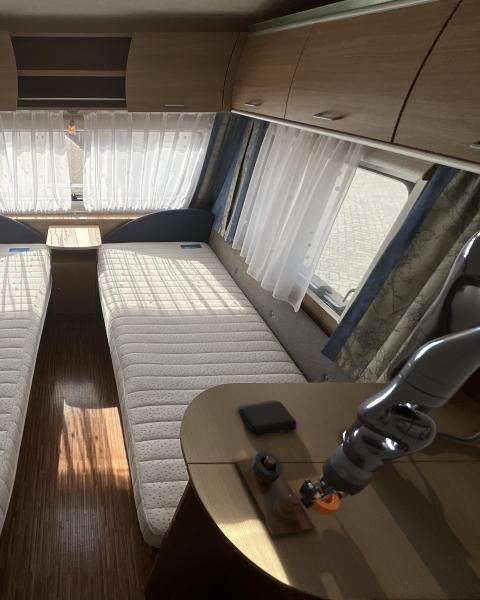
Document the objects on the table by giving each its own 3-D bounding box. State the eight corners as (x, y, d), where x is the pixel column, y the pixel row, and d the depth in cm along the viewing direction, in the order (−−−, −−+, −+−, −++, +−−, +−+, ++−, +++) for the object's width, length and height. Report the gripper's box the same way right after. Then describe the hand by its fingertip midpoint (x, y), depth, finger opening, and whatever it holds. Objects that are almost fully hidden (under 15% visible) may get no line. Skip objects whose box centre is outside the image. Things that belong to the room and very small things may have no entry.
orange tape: (321, 485, 84) (326, 480, 82) (340, 513, 79) (346, 507, 77) (298, 489, 83) (303, 483, 81) (316, 516, 78) (321, 511, 76)
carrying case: (254, 441, 95) (300, 433, 97) (257, 435, 93) (304, 427, 95) (233, 410, 104) (276, 403, 106) (236, 403, 102) (280, 396, 104)
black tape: (268, 456, 88) (272, 450, 86) (283, 480, 83) (288, 474, 81) (246, 459, 87) (250, 453, 85) (260, 483, 82) (264, 477, 80)
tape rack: (268, 459, 91) (279, 442, 86) (312, 530, 77) (327, 515, 72) (234, 464, 90) (243, 447, 85) (271, 537, 76) (285, 522, 71)
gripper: (333, 489, 68) (300, 523, 78) (396, 480, 69) (356, 514, 79) (308, 454, 74) (280, 490, 84) (367, 446, 75) (333, 482, 85)
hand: (317, 501), depth 81 cm, fingers closed on orange tape, 6 cm apart
